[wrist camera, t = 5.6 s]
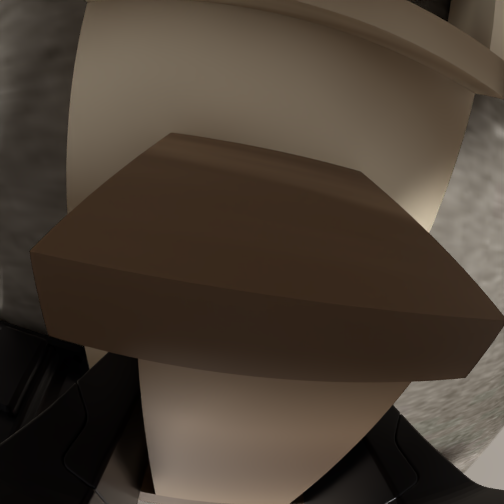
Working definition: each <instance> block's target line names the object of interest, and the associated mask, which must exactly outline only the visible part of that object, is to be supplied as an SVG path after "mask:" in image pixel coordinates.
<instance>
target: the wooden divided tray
mask: <svg viewBox="0 0 504 504" xmlns="http://www.w3.org/2000/svg"><path fill="white" fill-rule="evenodd" d="M85 1H87V6H86V10H85V14H84V19H83V23H82V28H81V33H80V38H79V43H78V48H77V54H76V60H75V66H74V73H73V80H72V88H71V97H70V107H69V119H68V135H67V162H66V191H67V215H66V216H65V217H64V218H63V219H62V220H61V221H60V222H59V223H58V224H57V225H56V226H55V227H53V228H52V229H51V230H50V231H49V232H48V233H47V234H46V235H45V236H44V237H43V238H42V239H41V240H40V241H39V242H38V243H37V244H36V245H35V246H34V247H33V248H32V249H31V250H30V257H31V263H32V269H33V274H34V279H35V284H36V289H37V293H38V298H39V302H40V306H41V310H42V314H43V318H44V322H45V326H46V329H47V333H48V336H51V337H54V338H58V339H61V340H65V341H68V342H72V343H75V344H79V345H83V346H85V351H86V355H87V360H88V364H89V368H90V369H91V368H92V367H93V366H94V365H95V364H96V363H97V362H98V361H99V360H100V359H101V358H102V357H103V356H104V355H105V354H107V353H108V352H111V353H115V354H119V355H124V356H128V357H133V358H138V366H139V379H140V390H141V400H142V410H143V418H144V426H145V434H146V441H147V448H148V454H149V460H148V464H147V468H146V471H145V475H144V479H143V483H142V487H141V491H140V495H139V499H138V500H140V501H145V502H150V503H156V504H304V499H303V492H305V491H306V490H307V489H308V488H309V487H311V486H312V485H313V484H314V483H315V482H317V481H318V480H319V479H320V478H321V477H322V476H323V475H324V474H326V473H327V472H328V471H329V470H330V469H331V468H332V467H333V466H334V465H335V464H337V463H338V462H339V461H340V460H341V459H342V458H343V457H344V456H345V455H346V454H347V453H348V452H349V451H350V450H351V449H352V448H353V447H354V446H355V445H356V444H357V443H358V442H359V441H360V440H361V439H362V438H363V437H364V436H365V435H366V434H367V433H368V432H369V431H370V430H371V429H372V427H373V426H374V425H375V424H376V423H377V422H378V421H379V420H380V419H381V418H382V416H383V415H384V414H385V413H386V412H387V411H388V410H389V408H390V407H391V406H392V405H393V404H394V403H395V401H396V400H397V399H398V398H399V397H400V395H401V394H402V393H403V392H404V390H405V389H406V388H407V387H408V385H409V384H410V383H411V382H413V381H432V380H446V379H458V378H466V376H467V375H468V374H469V373H470V372H471V370H472V369H473V368H474V367H475V365H476V364H477V363H478V361H479V360H480V359H481V357H482V356H483V355H484V353H485V352H486V351H487V349H488V348H489V347H490V345H491V344H492V342H493V341H494V340H495V338H496V337H497V335H498V334H499V332H500V331H501V329H502V328H503V326H504V316H503V314H502V313H501V312H500V311H499V309H498V308H497V307H496V306H495V305H494V303H493V302H492V301H491V300H490V298H489V297H488V296H487V295H486V294H485V293H484V291H483V290H482V289H481V288H480V287H479V286H478V284H477V283H476V282H475V281H474V280H473V279H472V278H471V277H470V275H469V274H468V273H467V272H466V271H465V270H464V269H463V268H462V267H461V266H460V265H459V263H458V262H457V261H456V260H455V259H454V258H453V257H452V256H451V255H450V254H449V253H448V252H447V251H446V250H445V249H444V248H443V247H442V246H441V245H440V244H439V243H438V242H437V241H436V240H435V239H434V238H433V237H432V236H431V235H430V234H429V232H430V230H431V227H432V225H433V223H434V220H435V218H436V215H437V213H438V210H439V208H440V205H441V202H442V200H443V197H444V195H445V192H446V189H447V186H448V184H449V181H450V178H451V175H452V172H453V169H454V166H455V163H456V160H457V157H458V154H459V151H460V148H461V144H462V141H463V138H464V134H465V131H466V127H467V124H468V120H469V116H470V112H471V108H472V104H473V100H474V96H475V94H480V95H486V96H491V97H495V98H500V99H504V0H451V4H450V11H449V18H448V22H446V21H445V20H443V19H441V18H440V17H438V16H436V15H434V14H432V13H431V12H429V11H427V10H425V9H423V8H421V7H419V6H417V5H415V4H413V3H411V2H409V1H407V0H85Z"/></svg>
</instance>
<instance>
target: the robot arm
mask: <svg viewBox="0 0 504 504" xmlns="http://www.w3.org/2000/svg"><path fill="white" fill-rule="evenodd" d="M148 460H149V454H148V448H147V441H146V434H145V426H144V418H143V410H142V400H141V390H140V379H139V366H138V358H133V357H128V356H124V355H119V354H115V353H111V352H108V353H107V354H105V355H104V356H103V357H102V358H101V359H100V360H99V361H98V362H97V363H96V364H95V365H94V366H93V367H92V368H91V369H90V368H89V364H88V360H87V355H86V351H85V348H84V347H82V346H79V345H76V344H72V343H68V342H65V341H61V340H58V339H55V338H51V337H48V336H45V335H42V334H38V333H35V332H32V331H29V330H26V329H23V328H20V327H17V326H14V325H11V324H9V323H6V322H3V321H0V504H137V503H138V499H139V495H140V491H141V487H142V483H143V479H144V475H145V471H146V468H147V464H148ZM303 499H304V504H504V490H499V489H493V488H487V487H484V486H481V485H479V484H477V483H475V482H473V481H472V480H470V479H469V478H468V477H467V476H466V475H464V474H463V473H462V472H461V471H460V470H459V469H458V468H456V467H455V466H454V465H453V464H452V463H451V462H450V461H449V460H447V459H446V458H445V457H444V456H443V455H442V454H441V453H440V452H438V451H437V450H436V449H435V448H434V447H433V446H432V445H431V444H430V443H429V442H428V441H427V440H426V439H425V438H424V437H423V436H422V435H421V434H420V433H419V432H418V431H417V430H416V429H415V428H414V427H413V426H412V425H411V424H410V423H409V422H408V421H407V419H406V418H405V417H404V416H403V415H402V414H400V412H399V411H398V410H397V409H396V408H395V406H394V405H392V406H391V407H390V408H389V410H388V411H387V412H386V413H385V414H384V415H383V416H382V418H381V419H380V420H379V421H378V422H377V423H376V424H375V425H374V426H373V427H372V429H371V430H370V431H369V432H368V433H367V434H366V435H365V436H364V437H363V438H362V439H361V440H360V441H359V442H358V443H357V444H356V445H355V446H354V447H353V448H352V449H351V450H350V451H349V452H348V453H347V454H346V455H345V456H344V457H343V458H342V459H341V460H340V461H339V462H338V463H337V464H335V465H334V466H333V467H332V468H331V469H330V470H329V471H328V472H327V473H326V474H324V475H323V476H322V477H321V478H320V479H319V480H318V481H317V482H315V483H314V484H313V485H312V486H311V487H309V488H308V489H307V490H306V491H305V492H303Z"/></svg>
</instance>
